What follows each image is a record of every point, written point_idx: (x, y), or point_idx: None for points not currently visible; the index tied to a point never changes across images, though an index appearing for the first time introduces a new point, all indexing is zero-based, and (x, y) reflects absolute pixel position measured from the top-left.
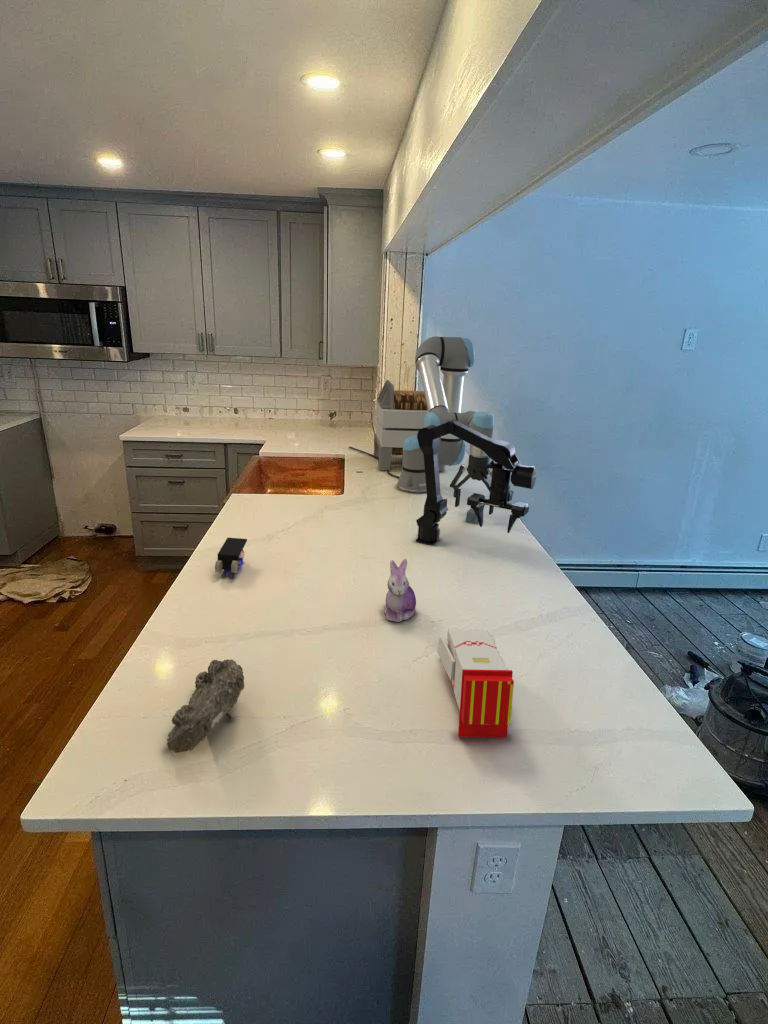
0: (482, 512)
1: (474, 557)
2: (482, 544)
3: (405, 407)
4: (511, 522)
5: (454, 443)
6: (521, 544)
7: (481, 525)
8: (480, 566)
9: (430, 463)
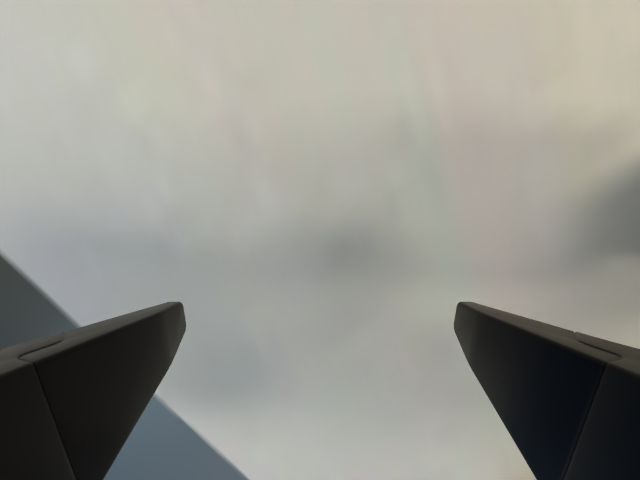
0: (550, 459)
1: (400, 140)
2: (411, 330)
3: None
4: (16, 349)
5: None
6: (246, 423)
7: (462, 313)
8: (322, 20)
9: None
